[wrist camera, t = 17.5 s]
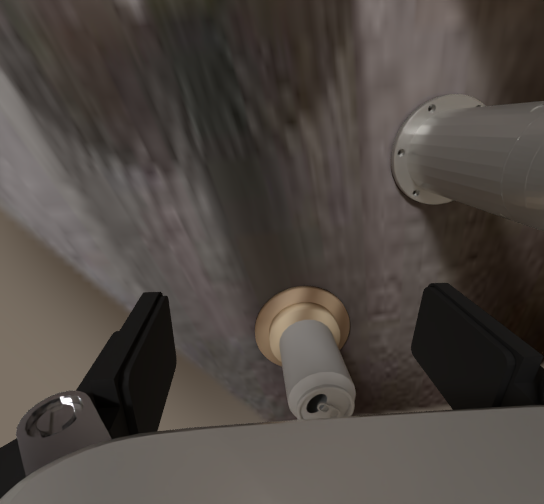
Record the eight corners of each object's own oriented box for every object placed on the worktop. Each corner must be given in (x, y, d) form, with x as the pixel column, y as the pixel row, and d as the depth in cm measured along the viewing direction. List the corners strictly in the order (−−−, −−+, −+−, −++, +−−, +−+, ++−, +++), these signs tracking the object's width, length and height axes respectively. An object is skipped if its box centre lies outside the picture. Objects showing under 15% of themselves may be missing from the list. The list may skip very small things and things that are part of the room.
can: (296, 307, 41) (315, 374, 30) (341, 328, 43) (375, 398, 31) (268, 348, 43) (276, 425, 32) (312, 366, 45) (335, 444, 34)
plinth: (352, 284, 43) (359, 295, 41) (342, 361, 49) (348, 375, 46) (254, 287, 42) (255, 298, 40) (255, 366, 48) (256, 381, 45)
